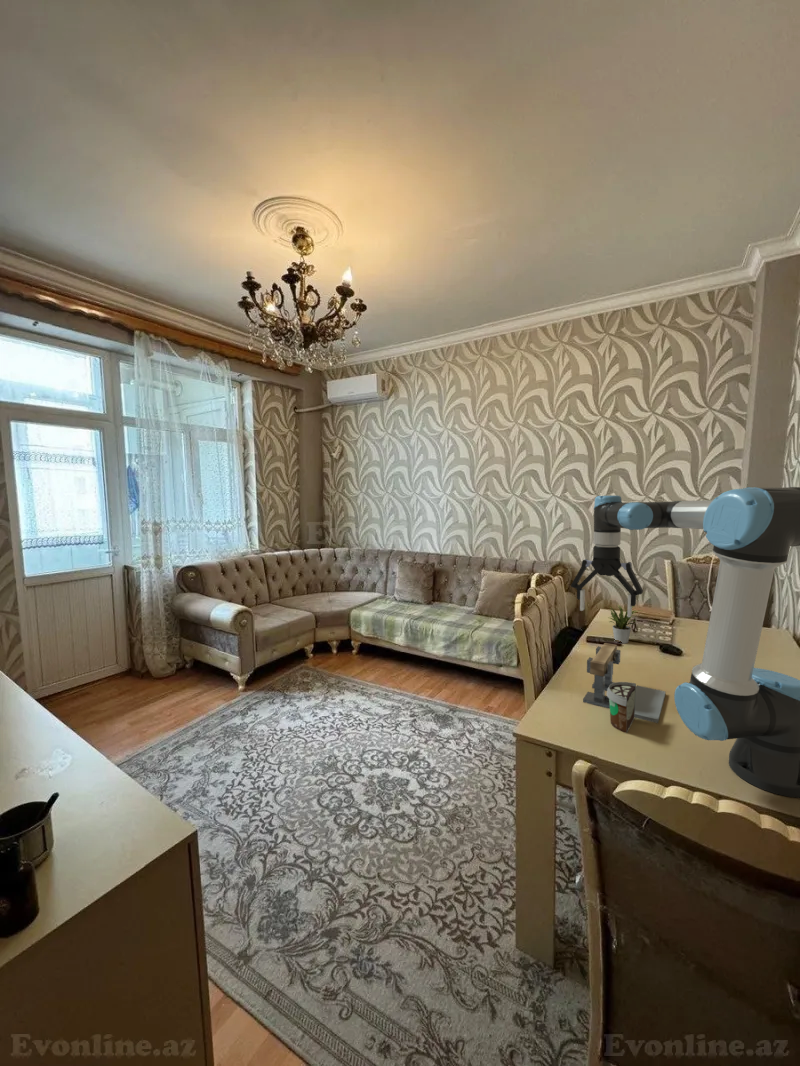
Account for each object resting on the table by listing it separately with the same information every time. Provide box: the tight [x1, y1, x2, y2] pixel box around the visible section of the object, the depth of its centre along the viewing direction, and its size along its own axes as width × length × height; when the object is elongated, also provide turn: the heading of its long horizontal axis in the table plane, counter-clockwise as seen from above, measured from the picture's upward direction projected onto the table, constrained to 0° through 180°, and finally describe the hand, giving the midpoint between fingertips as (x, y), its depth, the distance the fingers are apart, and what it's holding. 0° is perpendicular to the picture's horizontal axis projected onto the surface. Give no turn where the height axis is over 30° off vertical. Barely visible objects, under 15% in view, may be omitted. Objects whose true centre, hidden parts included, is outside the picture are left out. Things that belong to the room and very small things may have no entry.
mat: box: [634, 684, 667, 724], centre depth 131 cm, size 21×8×1 cm, turn 144°
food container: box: [605, 681, 637, 734], centre depth 121 cm, size 12×6×10 cm, turn 141°
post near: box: [582, 656, 614, 710], centre depth 133 cm, size 8×6×13 cm
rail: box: [589, 642, 618, 677], centre depth 137 cm, size 4×20×4 cm, turn 144°
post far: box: [591, 645, 621, 692], centre depth 142 cm, size 8×6×13 cm
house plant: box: [607, 604, 642, 644], centre depth 186 cm, size 14×14×16 cm
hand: (605, 613), depth 136 cm, fingers open, 13 cm apart
